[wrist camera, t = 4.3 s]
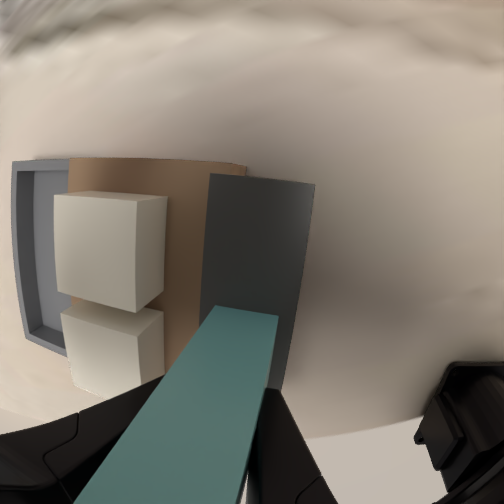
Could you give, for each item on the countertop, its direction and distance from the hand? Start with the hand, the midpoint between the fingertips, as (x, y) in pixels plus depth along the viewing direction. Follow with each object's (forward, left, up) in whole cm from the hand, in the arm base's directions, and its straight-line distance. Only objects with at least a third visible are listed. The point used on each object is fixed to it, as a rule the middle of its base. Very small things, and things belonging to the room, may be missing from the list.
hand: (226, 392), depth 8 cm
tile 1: (+6, -2, -5) cm, 8 cm away
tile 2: (+6, +3, -5) cm, 8 cm away
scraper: (0, 0, -4) cm, 4 cm away
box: (+13, 0, -8) cm, 15 cm away
